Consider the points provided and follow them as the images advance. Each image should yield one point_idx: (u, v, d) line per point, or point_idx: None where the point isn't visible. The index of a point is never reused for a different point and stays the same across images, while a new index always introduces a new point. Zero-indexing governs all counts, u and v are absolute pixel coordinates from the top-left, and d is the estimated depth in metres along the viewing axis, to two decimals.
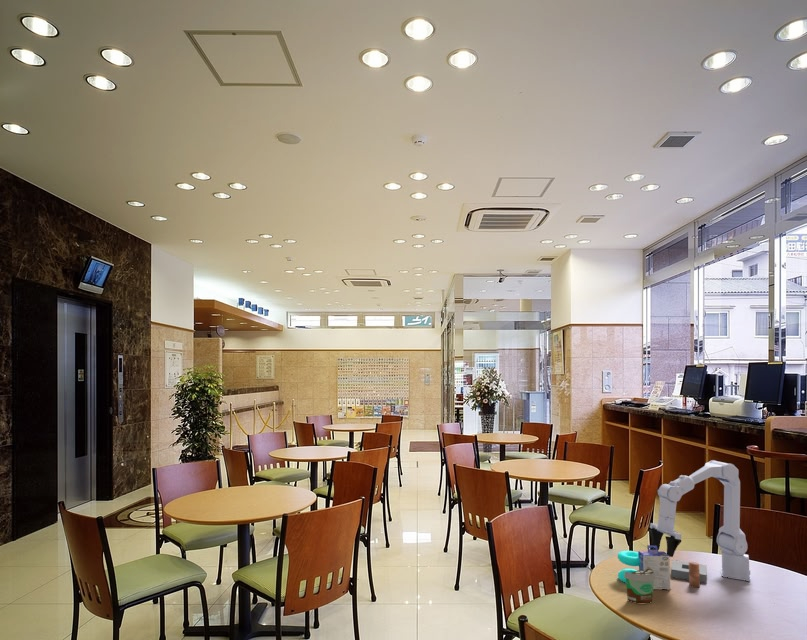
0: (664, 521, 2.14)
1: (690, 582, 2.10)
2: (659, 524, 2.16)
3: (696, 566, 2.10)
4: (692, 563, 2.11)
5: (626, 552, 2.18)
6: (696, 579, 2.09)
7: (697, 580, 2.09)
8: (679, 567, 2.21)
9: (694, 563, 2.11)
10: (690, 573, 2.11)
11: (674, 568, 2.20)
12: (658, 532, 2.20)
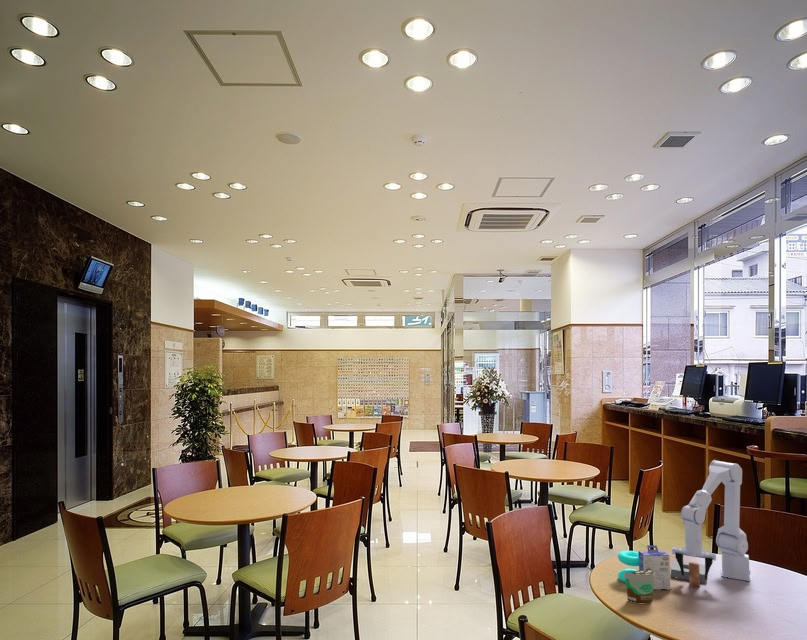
0: (698, 546, 2.09)
1: (690, 583, 2.10)
2: (693, 550, 2.09)
3: (696, 566, 2.10)
4: (692, 563, 2.11)
5: (626, 552, 2.18)
6: (696, 579, 2.09)
7: (697, 580, 2.09)
8: (679, 567, 2.21)
9: (694, 563, 2.11)
10: (690, 573, 2.11)
11: (674, 568, 2.20)
12: (682, 556, 2.13)
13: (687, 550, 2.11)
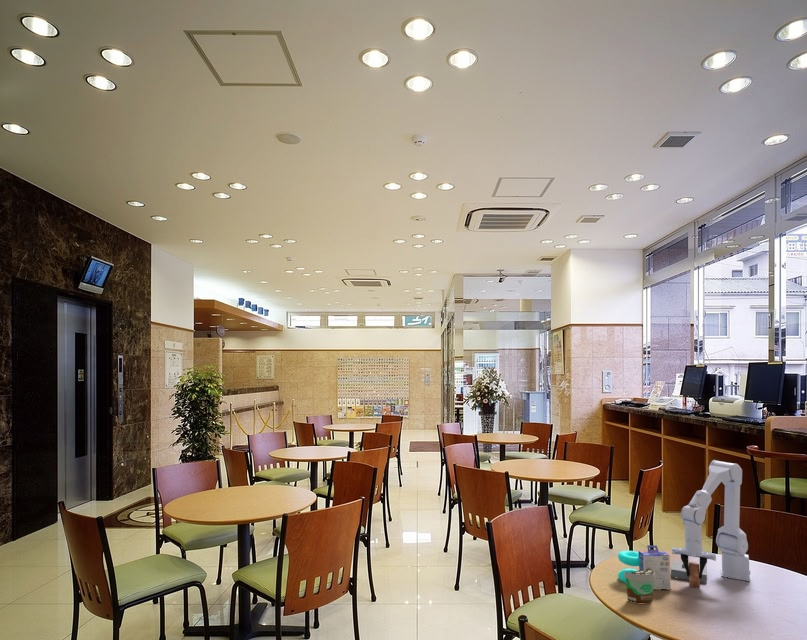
0: (698, 546, 2.09)
1: (690, 582, 2.10)
2: (693, 550, 2.09)
3: (696, 566, 2.10)
4: (692, 563, 2.11)
5: (626, 552, 2.18)
6: (696, 579, 2.09)
7: (697, 580, 2.09)
8: (679, 567, 2.21)
9: (694, 563, 2.11)
10: (690, 573, 2.11)
11: (674, 568, 2.20)
12: None
13: (687, 550, 2.11)
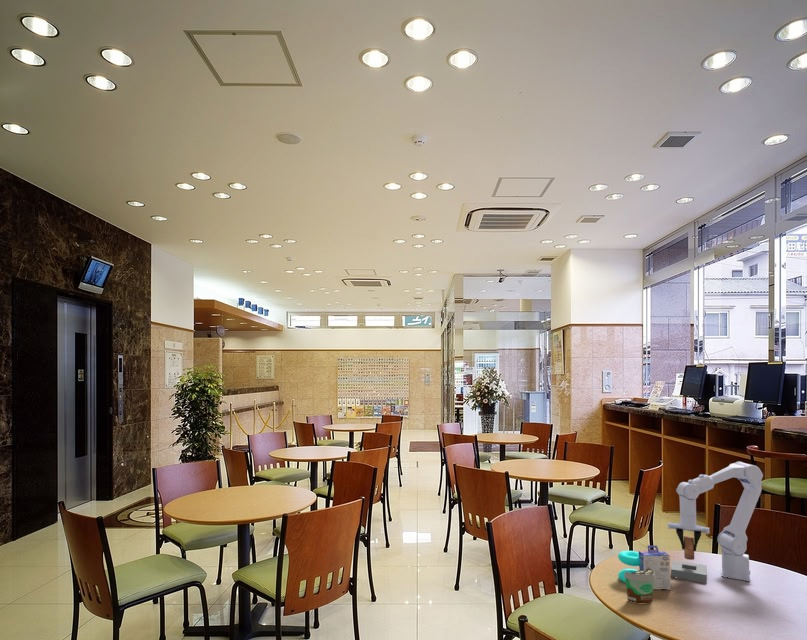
0: (692, 520, 2.20)
1: (685, 555, 2.21)
2: (687, 524, 2.20)
3: (691, 539, 2.20)
4: (687, 537, 2.22)
5: (627, 552, 2.18)
6: (691, 551, 2.20)
7: (692, 552, 2.20)
8: (679, 567, 2.21)
9: (689, 537, 2.22)
10: (685, 546, 2.21)
11: (674, 568, 2.20)
12: None
13: (682, 524, 2.21)
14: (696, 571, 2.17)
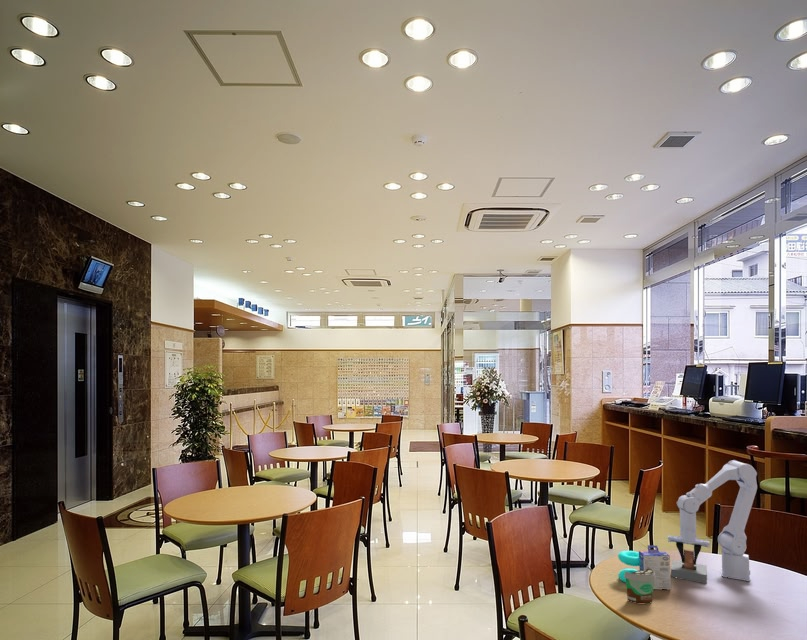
0: (692, 534, 2.20)
1: None
2: (687, 537, 2.20)
3: (691, 553, 2.20)
4: (687, 550, 2.22)
5: (627, 552, 2.18)
6: (691, 565, 2.20)
7: (692, 566, 2.20)
8: (679, 567, 2.21)
9: (689, 550, 2.22)
10: (685, 560, 2.21)
11: (674, 568, 2.20)
12: None
13: (682, 538, 2.22)
14: (696, 571, 2.17)
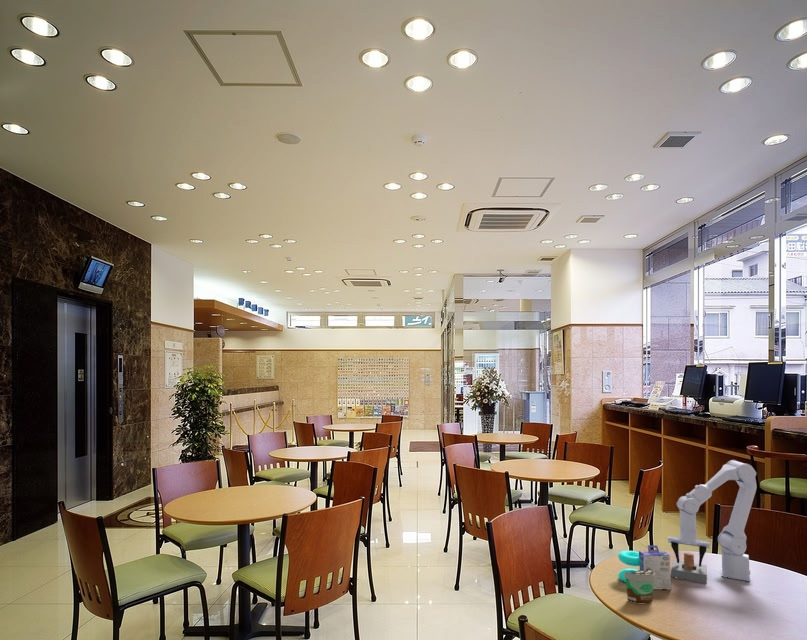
0: (692, 535, 2.20)
1: None
2: (687, 538, 2.20)
3: (691, 556, 2.20)
4: (687, 554, 2.22)
5: (627, 552, 2.18)
6: (691, 569, 2.20)
7: (692, 569, 2.20)
8: (679, 567, 2.21)
9: (689, 554, 2.22)
10: (685, 563, 2.21)
11: (674, 568, 2.20)
12: None
13: (682, 539, 2.22)
14: (696, 571, 2.17)
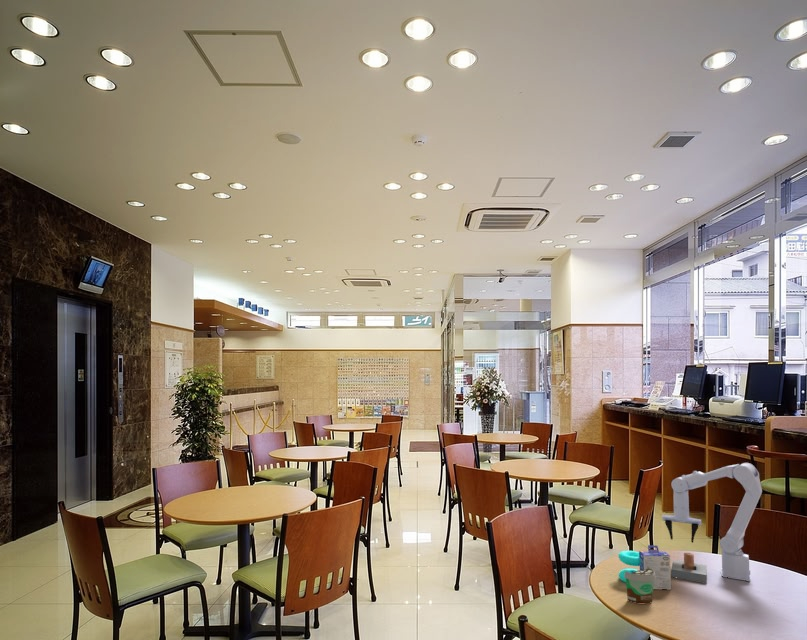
0: (685, 512, 2.33)
1: None
2: (680, 516, 2.33)
3: (691, 556, 2.20)
4: (687, 554, 2.22)
5: (627, 552, 2.18)
6: (691, 569, 2.20)
7: (692, 569, 2.20)
8: (679, 567, 2.21)
9: (689, 554, 2.22)
10: (685, 563, 2.21)
11: (674, 568, 2.20)
12: (671, 522, 2.37)
13: (675, 516, 2.35)
14: (696, 571, 2.17)
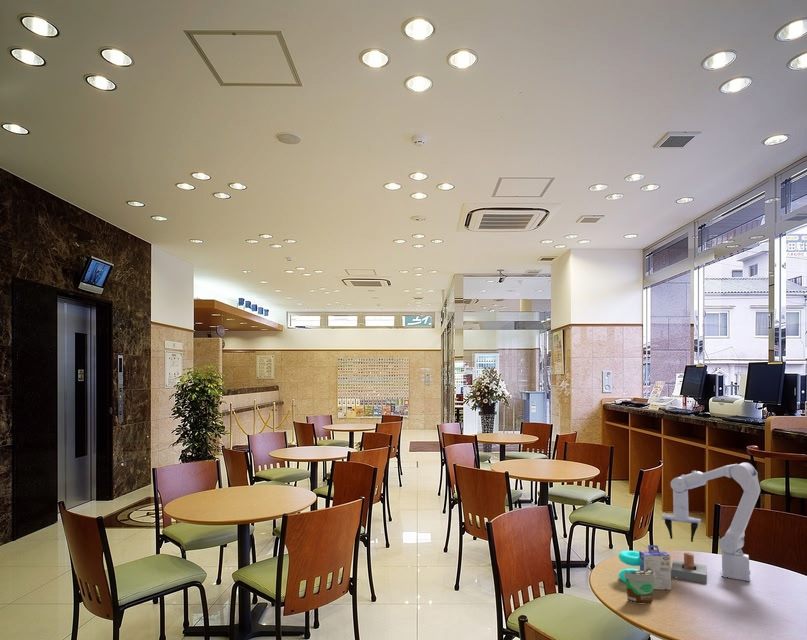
0: (685, 512, 2.34)
1: None
2: (680, 515, 2.34)
3: (691, 556, 2.20)
4: (687, 554, 2.22)
5: (627, 552, 2.18)
6: (691, 569, 2.20)
7: (692, 569, 2.20)
8: (679, 567, 2.21)
9: (689, 554, 2.22)
10: (685, 563, 2.21)
11: (674, 568, 2.20)
12: (671, 521, 2.38)
13: (675, 516, 2.36)
14: (696, 571, 2.17)
